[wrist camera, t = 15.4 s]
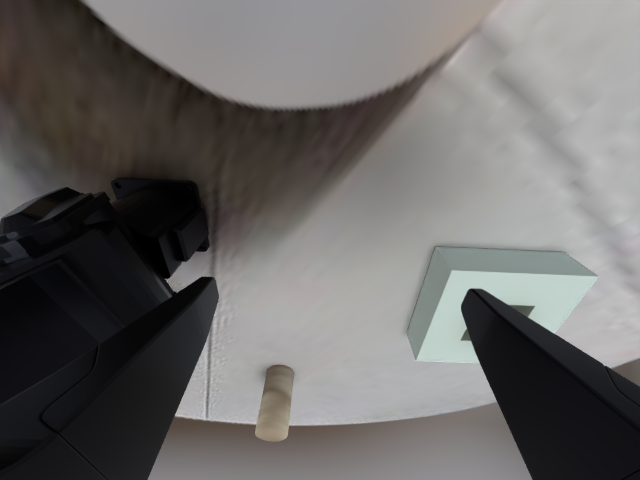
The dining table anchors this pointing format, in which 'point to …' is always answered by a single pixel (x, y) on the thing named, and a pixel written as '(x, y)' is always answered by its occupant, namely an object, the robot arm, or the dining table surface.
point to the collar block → (502, 282)
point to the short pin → (275, 404)
